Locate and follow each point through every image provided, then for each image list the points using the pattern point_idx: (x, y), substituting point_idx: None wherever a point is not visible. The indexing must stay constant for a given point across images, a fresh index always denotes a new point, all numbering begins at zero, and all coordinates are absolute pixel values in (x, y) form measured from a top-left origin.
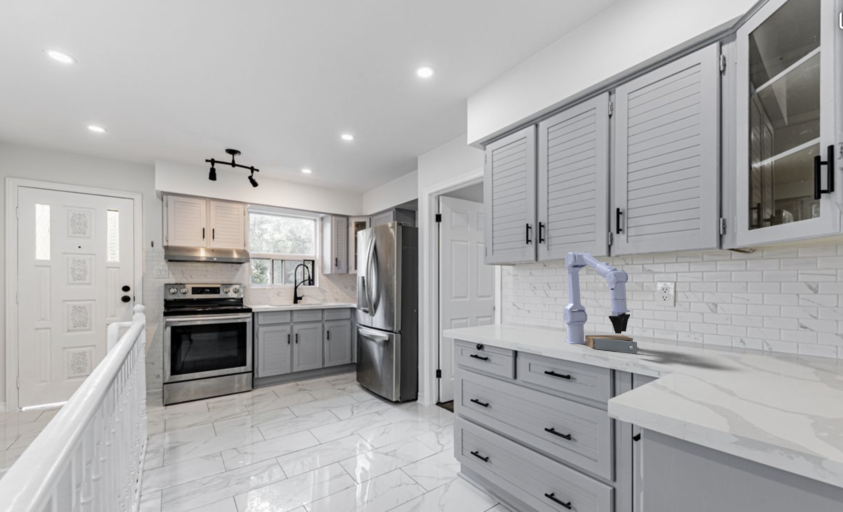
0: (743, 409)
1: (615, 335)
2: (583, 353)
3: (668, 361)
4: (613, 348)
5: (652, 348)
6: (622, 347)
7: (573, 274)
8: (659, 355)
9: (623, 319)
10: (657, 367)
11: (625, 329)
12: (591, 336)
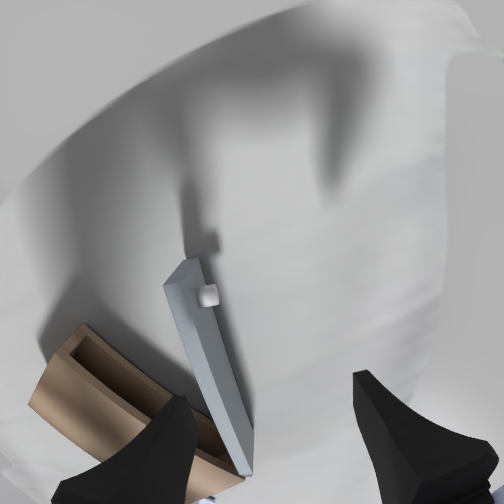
0: None
1: (66, 430)
2: None
3: (272, 54)
4: (230, 378)
5: (10, 261)
6: (216, 343)
7: None
8: (134, 152)
9: (418, 459)
10: (445, 69)
11: (180, 409)
12: (190, 491)
